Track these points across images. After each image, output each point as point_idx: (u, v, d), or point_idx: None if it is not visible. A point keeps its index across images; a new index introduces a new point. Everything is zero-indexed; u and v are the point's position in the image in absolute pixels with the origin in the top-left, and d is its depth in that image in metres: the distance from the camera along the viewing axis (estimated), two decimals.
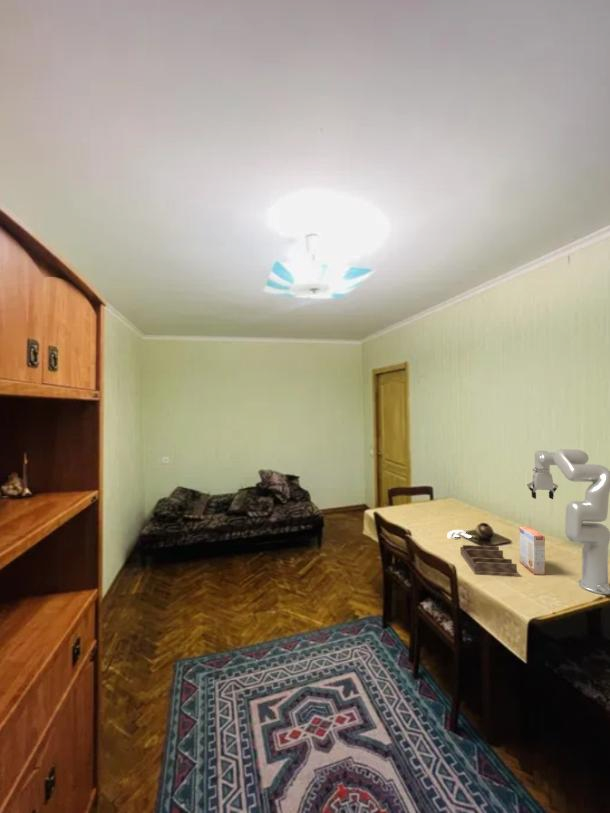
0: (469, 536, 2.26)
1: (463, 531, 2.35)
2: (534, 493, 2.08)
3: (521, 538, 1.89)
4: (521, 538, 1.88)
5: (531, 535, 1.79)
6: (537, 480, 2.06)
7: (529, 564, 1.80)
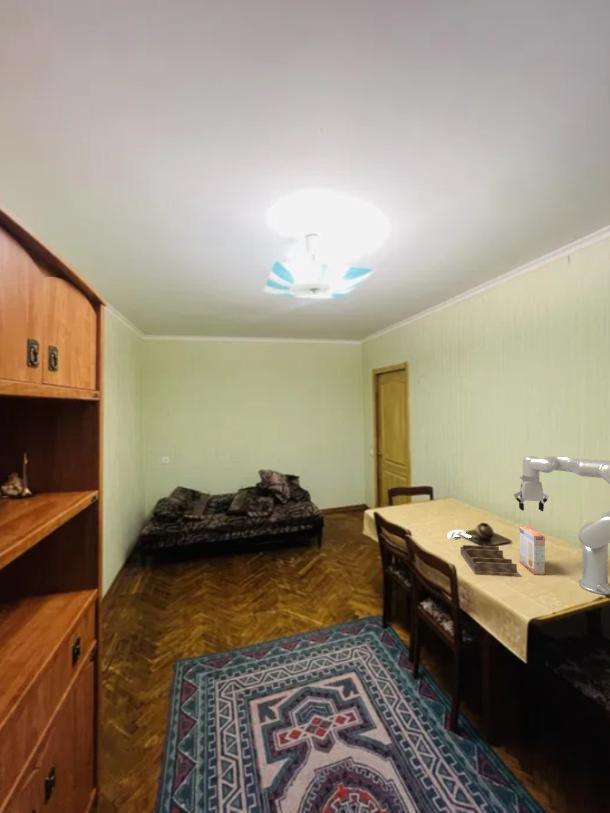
0: (469, 536, 2.27)
1: (463, 531, 2.35)
2: (522, 504, 1.83)
3: (521, 538, 1.88)
4: (521, 538, 1.88)
5: (531, 535, 1.79)
6: (525, 490, 1.81)
7: (529, 564, 1.80)
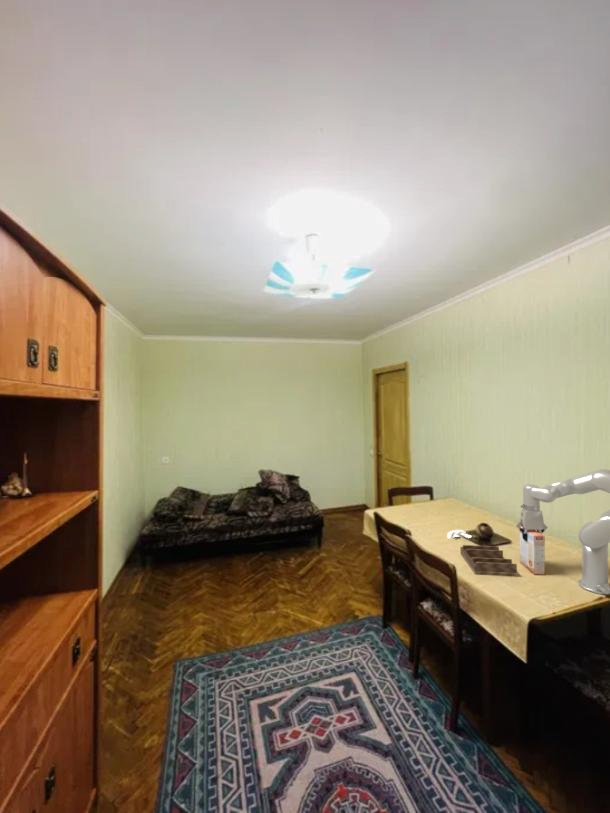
0: (469, 536, 2.27)
1: (463, 531, 2.35)
2: (525, 535, 1.83)
3: (521, 538, 1.89)
4: (521, 538, 1.88)
5: (531, 535, 1.79)
6: (525, 519, 1.81)
7: (529, 564, 1.80)
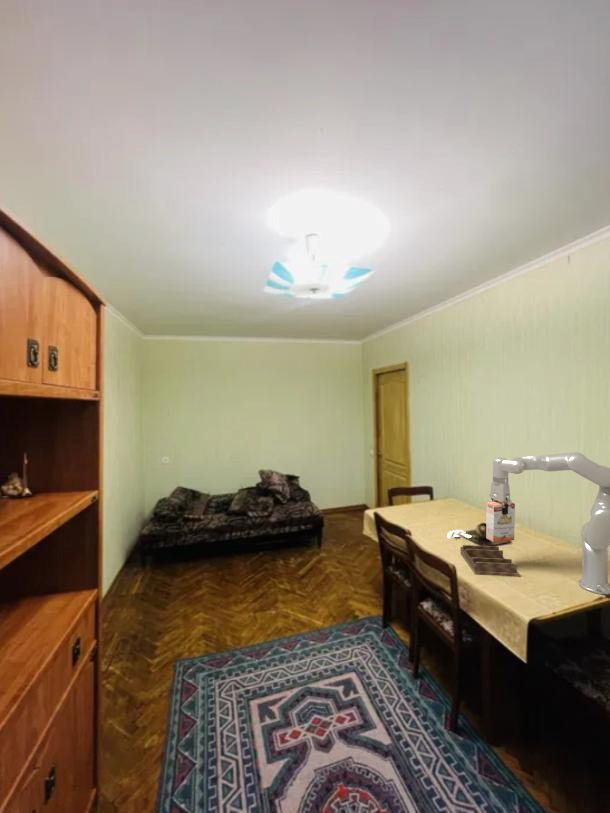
0: (469, 536, 2.27)
1: (463, 531, 2.35)
2: None
3: None
4: None
5: None
6: (491, 488, 1.90)
7: None
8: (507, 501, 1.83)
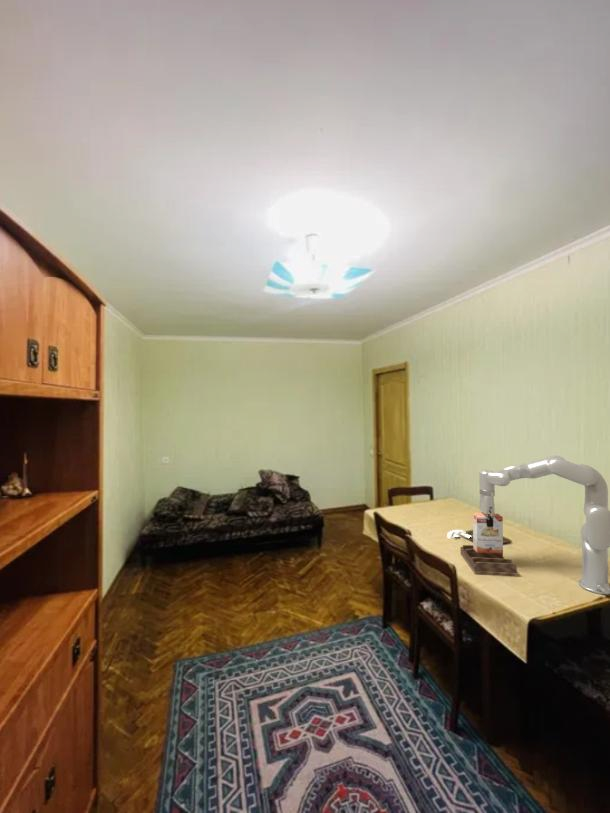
0: (469, 536, 2.27)
1: (463, 531, 2.35)
2: None
3: None
4: None
5: None
6: (479, 500, 1.93)
7: None
8: None
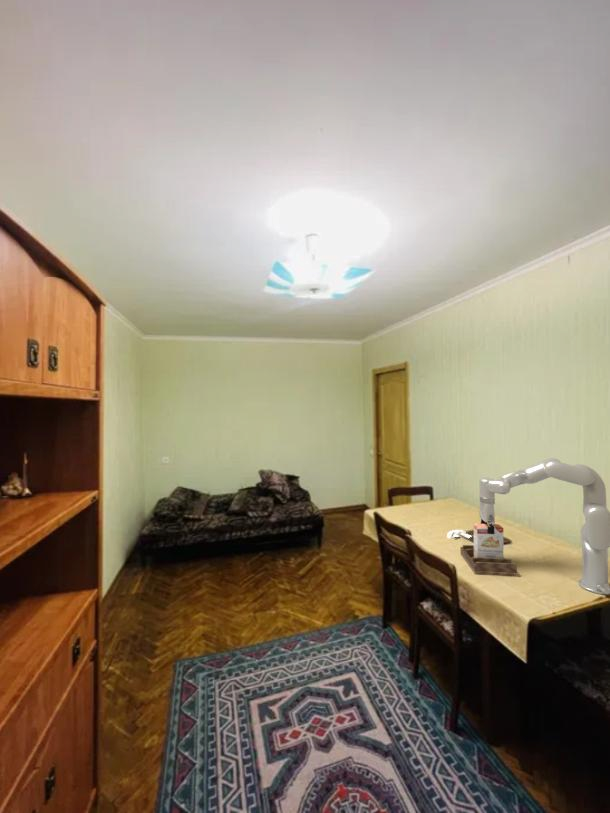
0: (469, 536, 2.27)
1: (463, 531, 2.35)
2: None
3: None
4: None
5: None
6: None
7: None
8: None
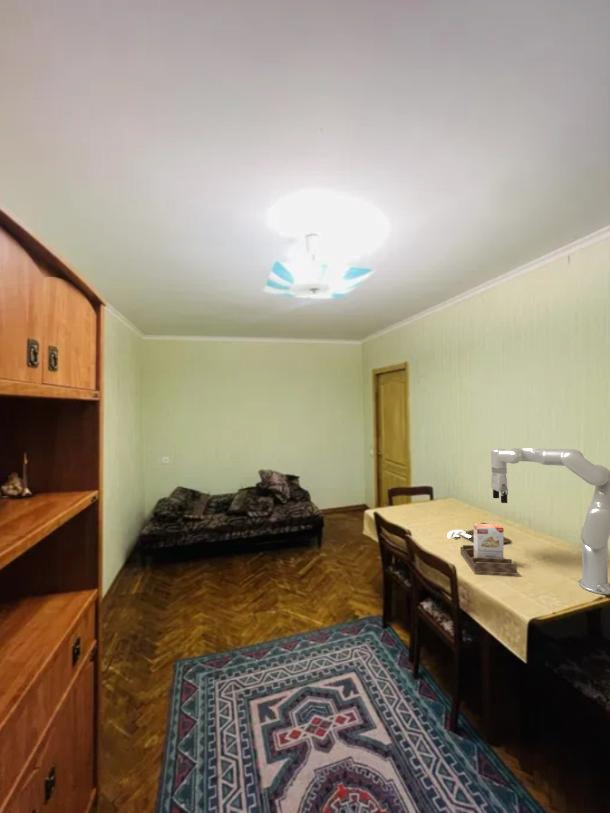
0: (469, 536, 2.27)
1: (463, 531, 2.35)
2: None
3: None
4: None
5: None
6: (491, 478, 1.95)
7: None
8: None
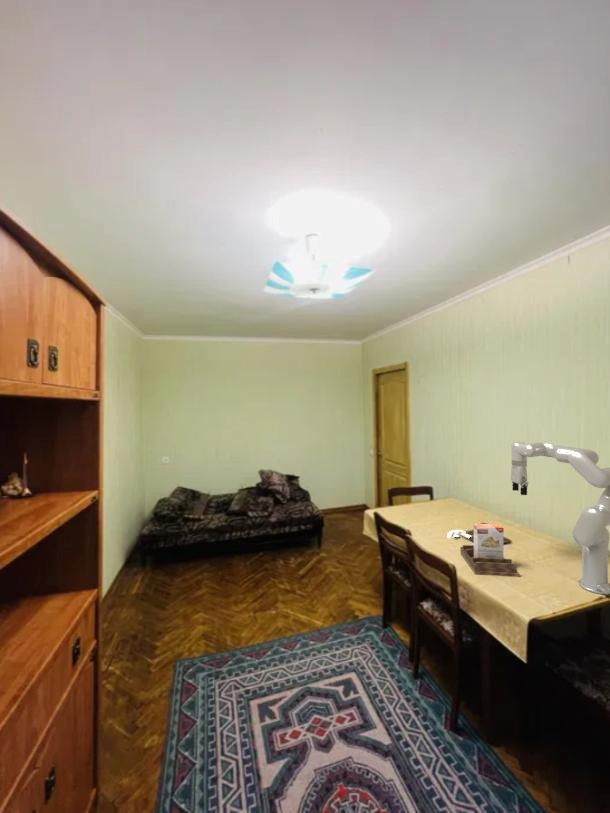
0: (469, 536, 2.27)
1: (463, 531, 2.35)
2: None
3: None
4: None
5: None
6: (511, 471, 2.00)
7: None
8: None
